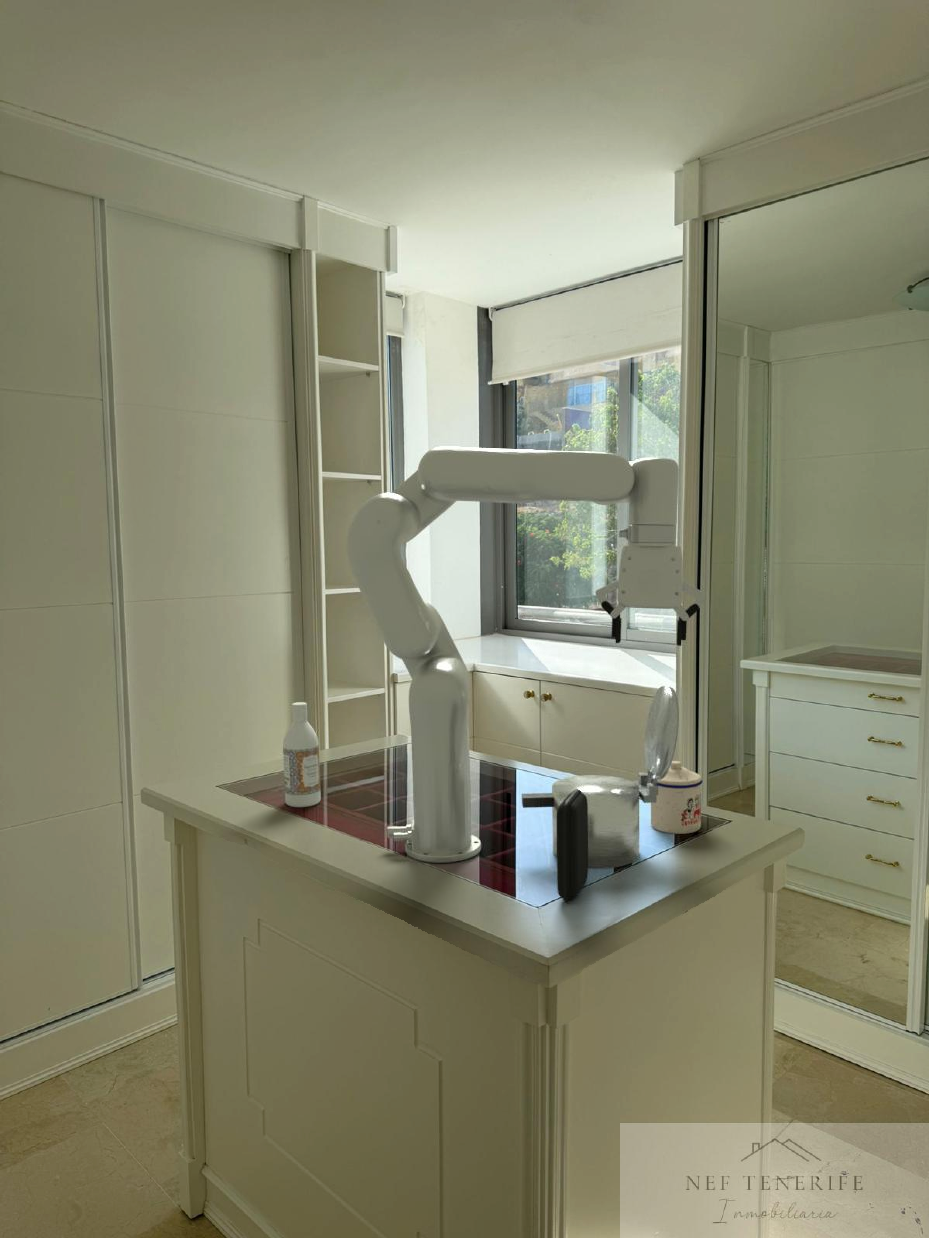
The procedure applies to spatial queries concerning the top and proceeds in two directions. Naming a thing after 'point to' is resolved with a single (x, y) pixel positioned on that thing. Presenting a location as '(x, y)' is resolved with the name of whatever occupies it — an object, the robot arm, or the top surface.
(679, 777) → the teacup with lid
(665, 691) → the lid
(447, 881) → the top surface
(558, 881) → the carrying case or bag
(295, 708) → the bath foam
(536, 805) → the cooker pot
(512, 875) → the top surface
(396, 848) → the top surface
